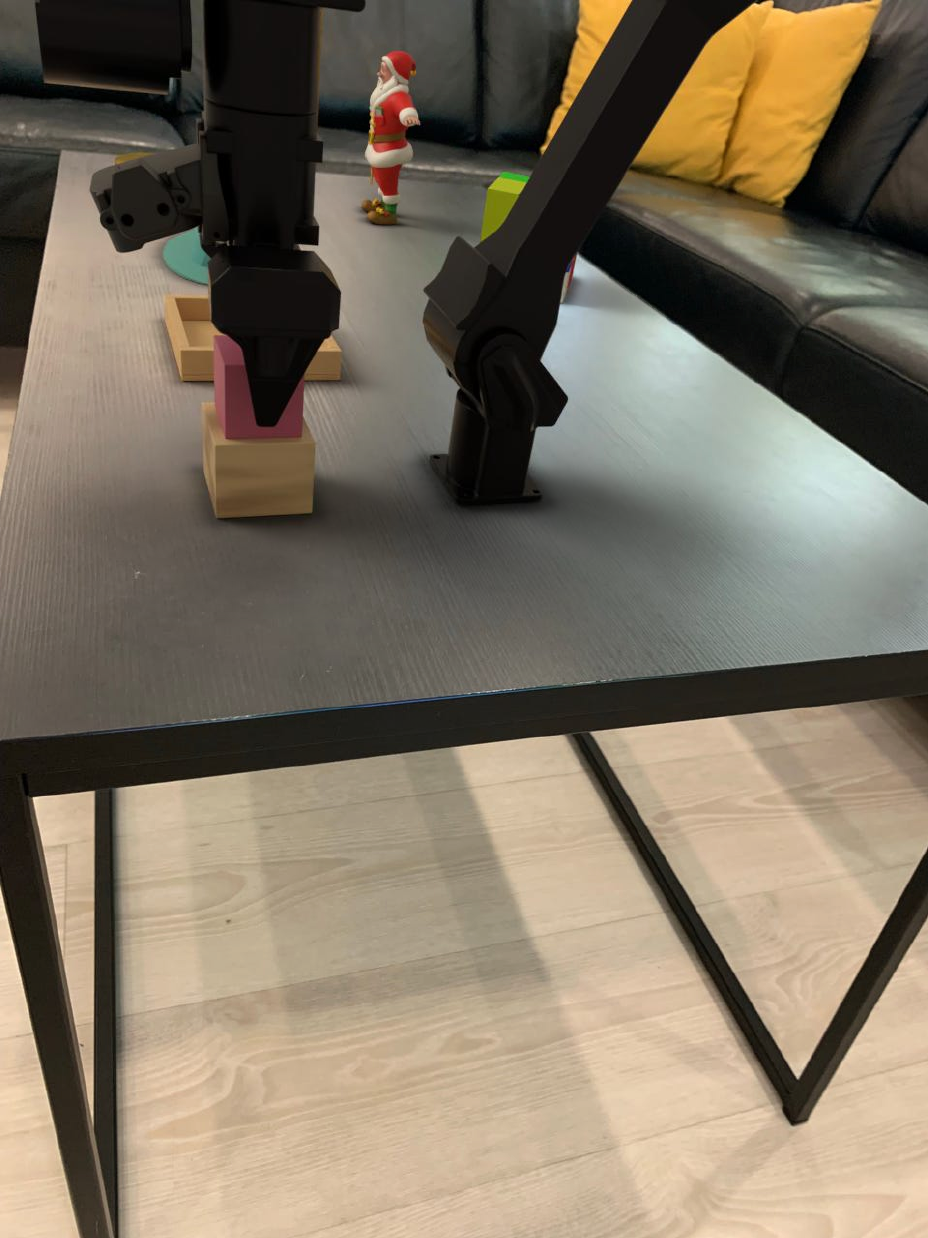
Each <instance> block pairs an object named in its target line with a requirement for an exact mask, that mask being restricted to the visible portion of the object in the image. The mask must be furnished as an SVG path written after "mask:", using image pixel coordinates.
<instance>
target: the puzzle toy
mask: <svg viewBox="0 0 928 1238" xmlns="http://www.w3.org/2000/svg"><path fill="white" fill-rule="evenodd" d="M529 177H530V176H527V175H522V174H517V173H512V172H508V171H507V172H506V171H503V172H501V174H500V175H499V176H498V177H497V178H496V180H494V181H493V183H491V184H490V186H489V187H488V188H487V192H486V199H485V207H484V211H483V212H484V214H483V219H482V227H481V234H480V240H479V243H480V242H482V241H483V240H484V239H486V238H487V237H488V236H490V235H491V234H492V233H494V232H495V231H496V230H497V229H498V228H499V227H500V226H501V225H502V223H503V222H504V221H505V219H506V217H507V216H508V214H509V212H510V210H511V209H512V207H513V205H514V203H515V202H516V200H517V198H518V196H519V195H520V193H521V191H522V190H523V188H524V186H525V184H526V183H527V181H528V179H529ZM578 252H579V251H578ZM578 252H577V254H576V255H575V257H574V259H573V260H572V262H571V263H570V265H569V267H568V269H567V272H566V274H565V277H564V283H563V289H562V295H561V301H560V304H563V303H564V301H565V298H566V294H567V293H568V291H569V287H570V285H571V283H572V280H573V278H574V277H573V276H574V271H575V266H576V262H577V257H578Z"/></svg>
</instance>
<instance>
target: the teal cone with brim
mask: <svg viewBox="0 0 928 1238" xmlns="http://www.w3.org/2000/svg"><path fill="white" fill-rule="evenodd" d="M199 234H200V233H198V228H197V227H196V228H194V229H191V230H188V231H185V232H182V233H180V234H177V236H176V235H175V237H173V238H171V239H170V240H168V242H167V243H166V244H165V245H164V247H163V252H162V258H163V260H164V262H165V265H166V266H167V267H168V268H169V269H170V270H171V271H172V272H173V273H174V274H175V275H177V276H179V277H181V278H183V279H185V280H188V281H190V282H194V283H196V284H199V285H200V284H201V285H205V286H208V280H207V262H208V261H209V260H211V258H210V257H209V256H208V255H207V254H206V253H205V252H204V251H203V250H202V248H201V245H200V238H199Z"/></svg>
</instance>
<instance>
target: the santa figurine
mask: <svg viewBox="0 0 928 1238" xmlns="http://www.w3.org/2000/svg"><path fill="white" fill-rule="evenodd" d="M416 69H417V65H416V62H415V60H414V58H413V57H412V55H411V54H409V53H407V52H405V51H401V50H396V51H391V52H389V53H387V54H386V55H384V56H382V57H381V64H380V69H378V72H377V73H376V75H377V77H378V79H377V80H378V81H377V83H376V87H375V89H374V90H373V92H372V94H371V95H370V98H369V105H370V106H369V111H370V113H369V116H370V117H371V118H370V120H369V124H370V126H369V127H370V129H369V130H368V138H367V147H366V149H365V152H364V157H365V159H366V160H367V162H368V163H369V165H370V166H371V169H370V181H369V182H370V185H371V186H372V185H373V181H374V180H375V183H376V184H377V185H378V188H377V194H378V195H379V196H380V200H379V199H378V198H374V200H373V201H372V200H371V199H365V200H363V201H362V202H361V209H362V210H364V211H365V212H367V214H366V219H367V220H368V221H370V222H371V223H373V224H374V225H375V224H376V225H379V226H380V225H382V226H383V225H384V226H385V225H386V226H387V225H388V226H389V225H397V224H398V215H397V207H398V204H399V203H400V202H401V199H402V198H401V194H400V193H399V192H398V191H399V189H398V188H399V179H400V177H399V176H400V171H401V170H402V167H403V165H405V164H408V163H409V162H411V161H412V159H413V157H414V150H413V147H412V145H411V143H410V142H408V141H407V138H406V132H407V130H408V129H409V127H413V126H415V125H417V126H421V121H420V120H419V114H418V110H417V108H416V107H415V106H414V103H413V99H412V97H411V94H410V93H409V91H410V90H409V86H408V85H409V80H410V79H411V76H412V77H416V75H417V71H416Z"/></svg>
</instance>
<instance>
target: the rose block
mask: <svg viewBox="0 0 928 1238" xmlns="http://www.w3.org/2000/svg"><path fill="white" fill-rule="evenodd" d="M213 344H214V381H213V386H214V387H213V391H214V392H213V393H214V394H213V395H214V397H213V398H214V402H215V408H216V411H217V414H218V418H219V421H220V424H221V427H222V430H223V433H224V436H225V439H240V438H279V437H302V426H303V417H304V399H305V398H304V397H305V380H304V377H305V374H304V375H303V377H302V379H301V380H300V382H299V384H298V386H297V388H296V390H295V392H294V394H293V395H292V397H291V399H290V401H289V403H288V405H287V407H286V408H285V410H284V412H283V414H282V416H281V418H280V420H279V422H278V423H277V425H276V426H275V427H259V426H257V424H256V421H255V416H254V410H253V405H252V400H251V395H250V390H249V385H248V380H247V375H246V370H245V364H244V359H243V354H242V350H241V348H240V346H239V345H238V344H237V343H235V342H234V341H233V340H232V339H231V338H229V337H228V336H227V335H214V336H213Z"/></svg>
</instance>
